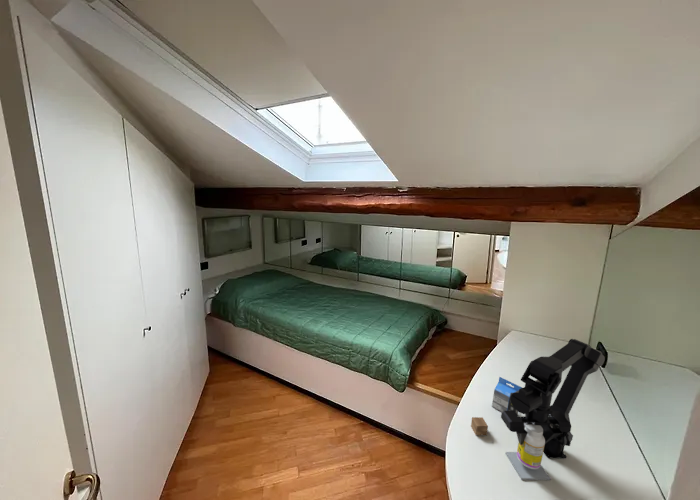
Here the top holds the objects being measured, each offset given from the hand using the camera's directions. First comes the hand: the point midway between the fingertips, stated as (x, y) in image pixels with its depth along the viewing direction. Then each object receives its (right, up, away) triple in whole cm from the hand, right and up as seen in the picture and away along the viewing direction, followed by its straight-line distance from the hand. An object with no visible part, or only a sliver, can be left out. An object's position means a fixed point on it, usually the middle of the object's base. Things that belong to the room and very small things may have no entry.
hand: (531, 443), depth 91 cm
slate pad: (0, -8, +2) cm, 9 cm away
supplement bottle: (0, -7, +1) cm, 7 cm away
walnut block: (-10, -5, +15) cm, 19 cm away
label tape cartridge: (+5, -4, +25) cm, 26 cm away
